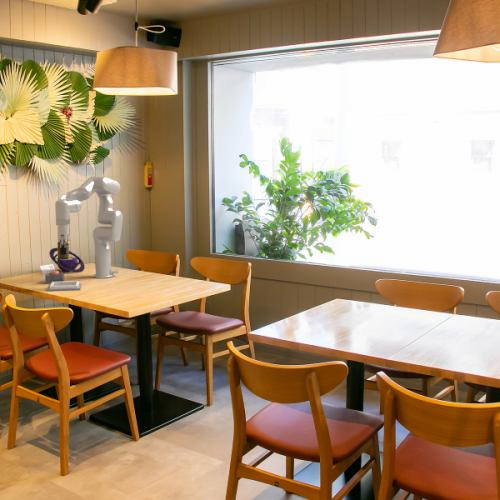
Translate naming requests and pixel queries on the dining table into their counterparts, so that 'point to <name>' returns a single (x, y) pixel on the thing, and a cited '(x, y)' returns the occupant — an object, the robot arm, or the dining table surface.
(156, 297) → the dining table surface
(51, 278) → the button housing
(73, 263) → the decorative bottle
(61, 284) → the tray
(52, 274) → the button
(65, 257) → the condiment
